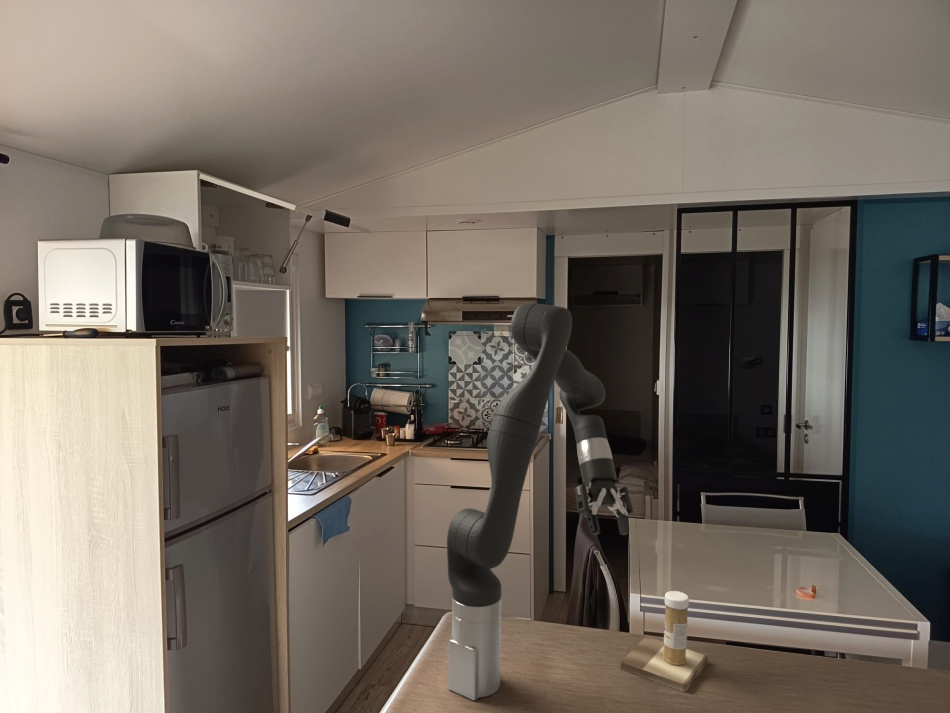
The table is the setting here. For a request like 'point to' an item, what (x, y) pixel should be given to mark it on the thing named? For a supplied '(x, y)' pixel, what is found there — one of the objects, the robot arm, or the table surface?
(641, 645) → the board
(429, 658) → the table surface
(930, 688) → the table surface
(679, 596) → the sprinkles bottle
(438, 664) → the table surface
